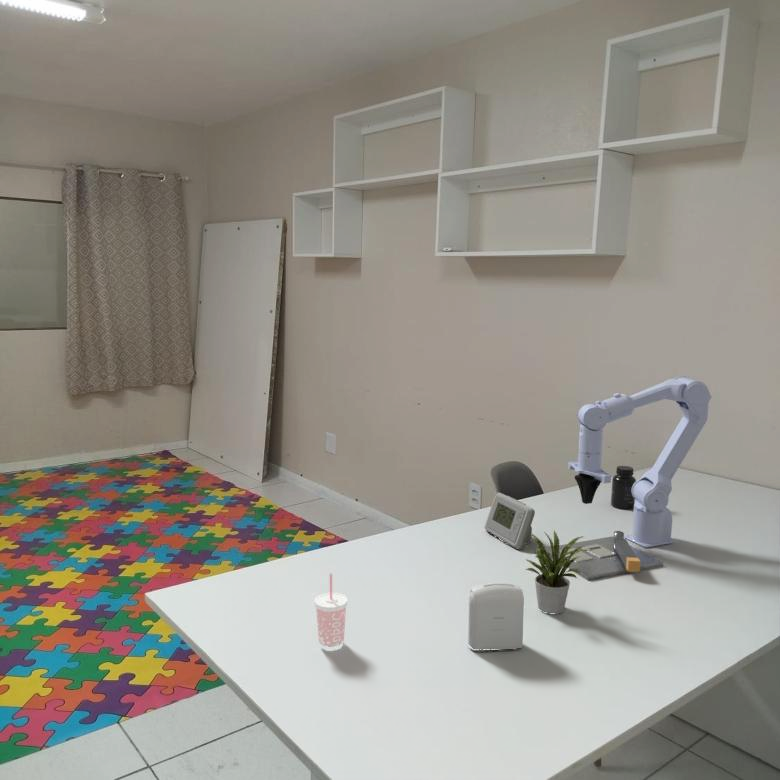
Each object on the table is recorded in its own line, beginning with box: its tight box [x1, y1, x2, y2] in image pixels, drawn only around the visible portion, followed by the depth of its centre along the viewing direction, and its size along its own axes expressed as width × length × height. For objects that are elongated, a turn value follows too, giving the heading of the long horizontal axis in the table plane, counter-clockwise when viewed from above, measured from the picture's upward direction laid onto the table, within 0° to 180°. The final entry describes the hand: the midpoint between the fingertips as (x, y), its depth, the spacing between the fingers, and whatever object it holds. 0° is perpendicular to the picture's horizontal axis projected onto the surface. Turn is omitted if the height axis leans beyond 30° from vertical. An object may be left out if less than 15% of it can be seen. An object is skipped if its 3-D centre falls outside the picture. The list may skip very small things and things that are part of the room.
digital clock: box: [484, 492, 536, 550], centre depth 186 cm, size 16×9×11 cm, turn 14°
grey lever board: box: [545, 530, 664, 581], centre depth 174 cm, size 22×18×5 cm
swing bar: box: [615, 538, 641, 573], centre depth 169 cm, size 14×3×3 cm, turn 175°
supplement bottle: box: [610, 465, 637, 510], centre depth 213 cm, size 7×7×12 cm
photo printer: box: [467, 582, 525, 650], centre depth 131 cm, size 10×4×12 cm, turn 96°
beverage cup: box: [314, 573, 348, 647], centre depth 131 cm, size 6×6×14 cm
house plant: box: [521, 530, 591, 615], centre depth 146 cm, size 14×14×16 cm
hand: (587, 502), depth 184 cm, fingers closed
